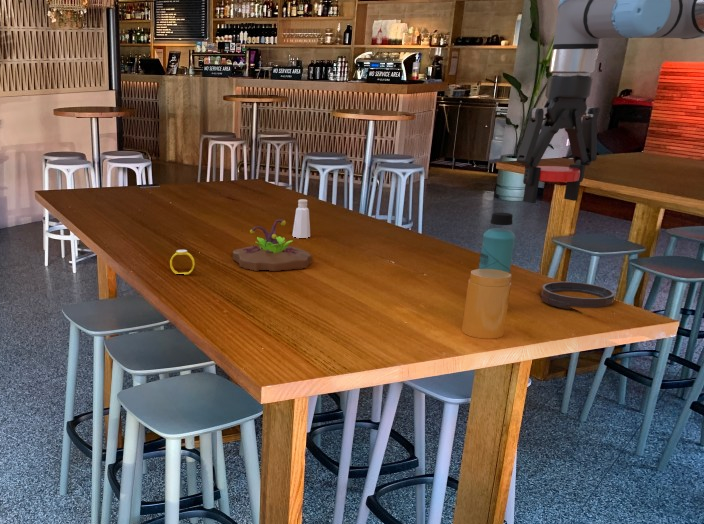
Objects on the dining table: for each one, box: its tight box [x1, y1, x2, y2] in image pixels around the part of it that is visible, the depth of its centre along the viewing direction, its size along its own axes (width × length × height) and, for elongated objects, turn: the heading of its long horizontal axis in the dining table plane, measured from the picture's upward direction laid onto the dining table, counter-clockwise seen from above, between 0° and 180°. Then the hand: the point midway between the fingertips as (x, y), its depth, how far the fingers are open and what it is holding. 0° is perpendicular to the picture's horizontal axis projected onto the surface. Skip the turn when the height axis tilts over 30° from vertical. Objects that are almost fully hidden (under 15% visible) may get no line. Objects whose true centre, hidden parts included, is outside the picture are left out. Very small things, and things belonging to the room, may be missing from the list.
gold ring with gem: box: [169, 249, 196, 276], centre depth 194 cm, size 6×3×6 cm, turn 83°
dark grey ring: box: [539, 281, 616, 312], centre depth 170 cm, size 14×14×3 cm
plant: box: [232, 218, 312, 272], centre depth 205 cm, size 20×20×11 cm
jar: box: [461, 268, 513, 340], centre depth 150 cm, size 8×8×12 cm
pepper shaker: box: [291, 198, 311, 239], centre depth 235 cm, size 5×5×11 cm
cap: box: [537, 165, 580, 183], centre depth 150 cm, size 9×9×2 cm
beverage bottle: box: [478, 211, 516, 274], centre depth 163 cm, size 6×7×20 cm
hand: (550, 200), depth 152 cm, fingers closed on cap, 9 cm apart
